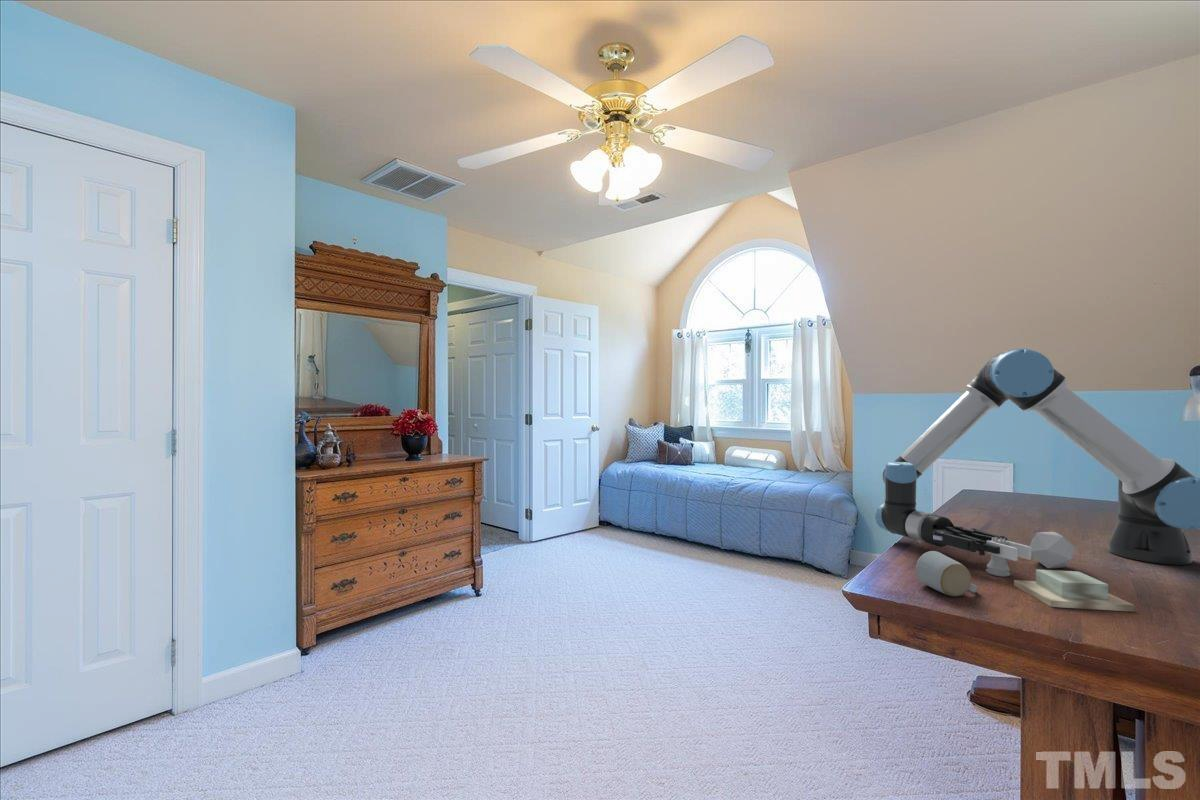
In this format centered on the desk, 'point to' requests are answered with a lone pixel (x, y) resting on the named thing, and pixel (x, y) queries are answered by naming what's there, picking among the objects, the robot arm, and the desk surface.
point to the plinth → (1070, 601)
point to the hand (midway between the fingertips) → (1022, 553)
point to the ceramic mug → (944, 574)
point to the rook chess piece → (998, 562)
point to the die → (1051, 549)
